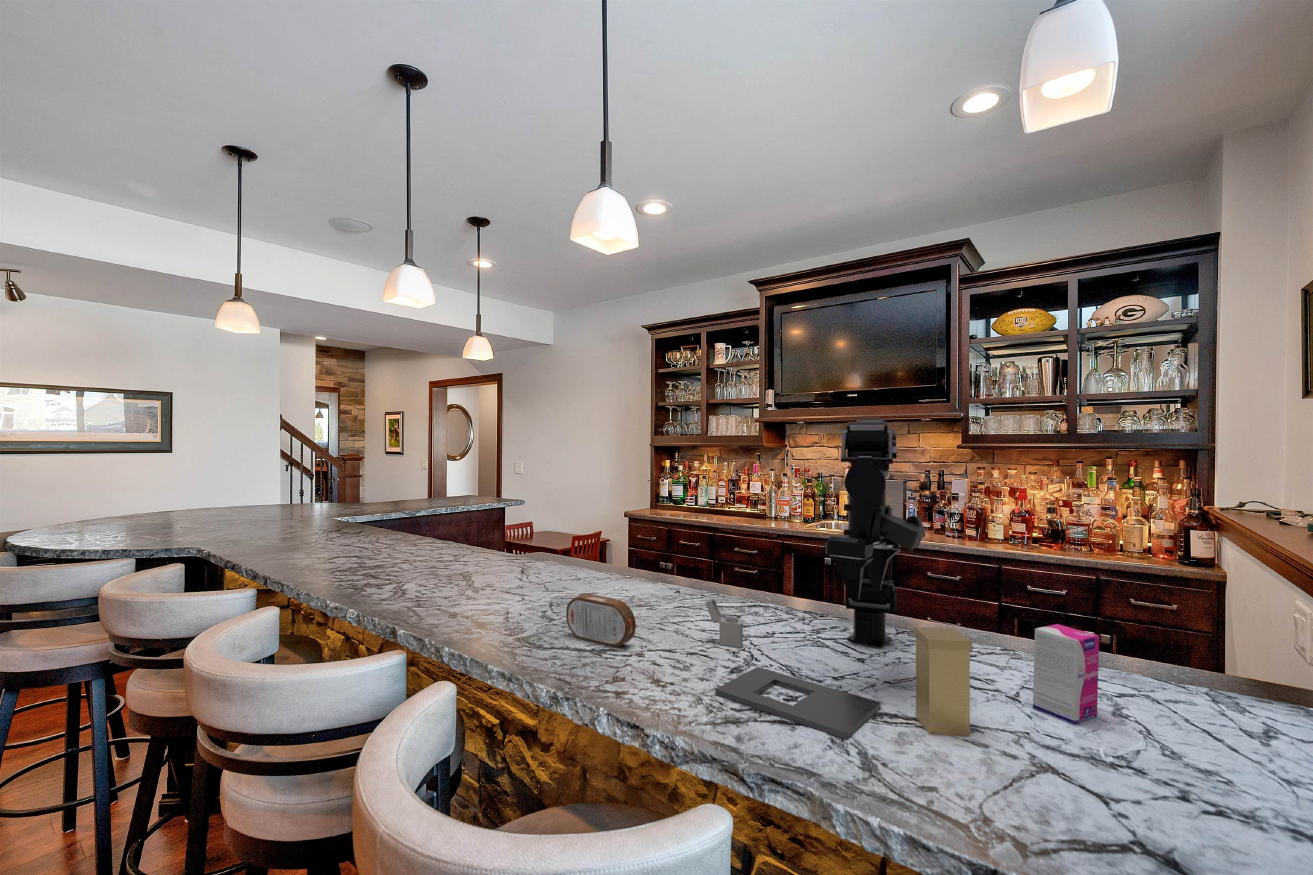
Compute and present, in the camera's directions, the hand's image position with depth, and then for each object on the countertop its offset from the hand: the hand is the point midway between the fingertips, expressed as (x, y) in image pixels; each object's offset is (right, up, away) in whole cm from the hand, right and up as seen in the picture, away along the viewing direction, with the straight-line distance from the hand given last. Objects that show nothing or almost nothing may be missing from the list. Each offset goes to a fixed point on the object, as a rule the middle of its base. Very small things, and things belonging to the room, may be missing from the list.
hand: (866, 595), depth 94 cm
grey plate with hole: (-14, -13, -10) cm, 21 cm away
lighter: (-21, -13, +15) cm, 29 cm away
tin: (-45, -13, +15) cm, 49 cm away
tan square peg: (+4, -13, -17) cm, 21 cm away
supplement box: (+23, -13, -12) cm, 30 cm away
